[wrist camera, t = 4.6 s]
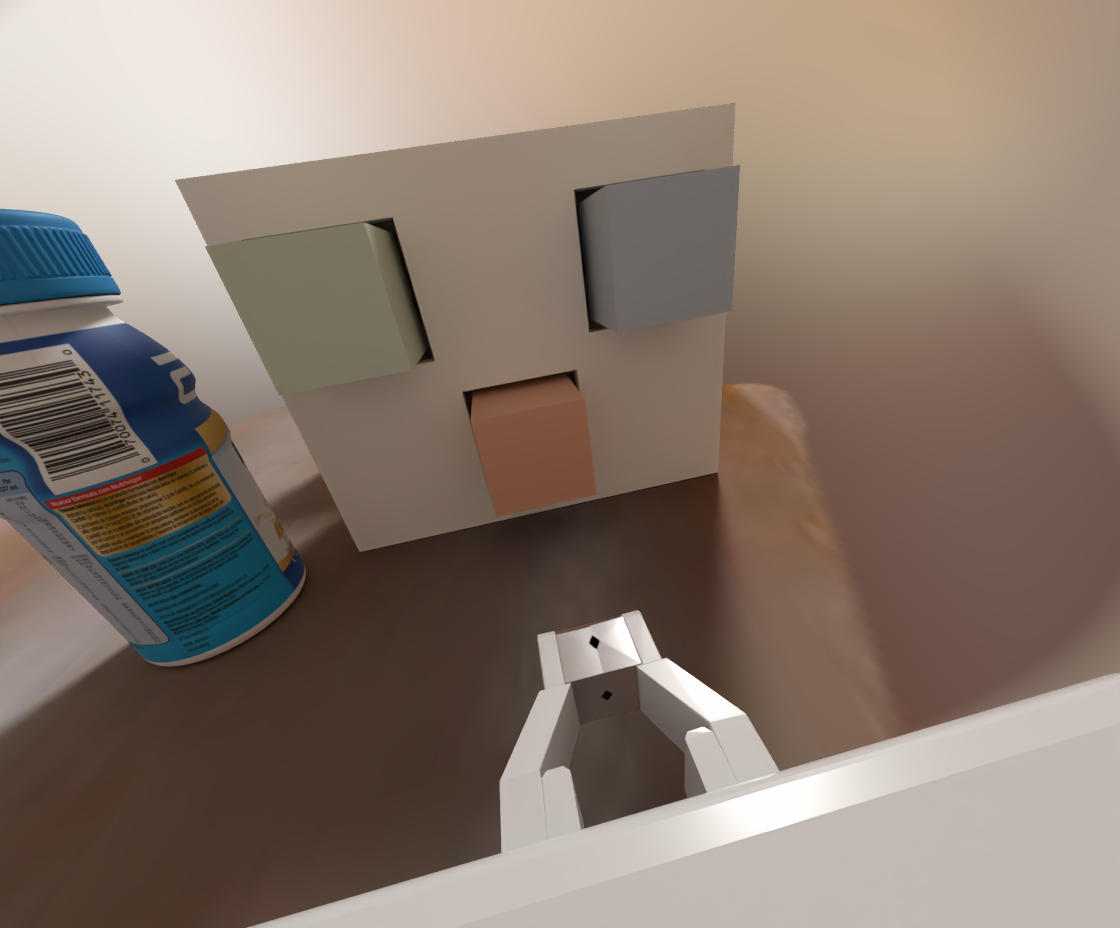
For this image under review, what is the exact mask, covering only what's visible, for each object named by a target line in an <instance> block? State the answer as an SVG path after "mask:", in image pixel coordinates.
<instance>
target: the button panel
mask: <svg viewBox="0 0 1120 928" xmlns="http://www.w3.org/2000/svg"><path fill="white" fill-rule="evenodd" d="M734 122H735V103H731V104H724V105H717V106H709V107H702V108H694V109H687V110H680V111H673V112H666V113H659V114H652V115H644V116H636V117H629V118H622V119H615V120H608V121H601V122H593V123H586V124H578V125H571V126H564V127H558V128H550V129H542V130H535V131H527V132H520V133H513V134H506V135H498V136H491V137H484V138H477V139H470V140H462V141H455V142H448V143H440V144H433V145H426V146H419V147H412V148H404V149H398V150H389V151H382V152H375V153H368V154H360V155H353V156H346V157H339V158H331V159H324V160H317V161H310V162H303V163H295V164H288V165H280V166H274V167H266V168H259V169H252V170H244V171H237V172H230V173H223V174H215V175H209V176H201V177H193V178H186V179H179V180H175V181H176V183H177V185H178V187H179V189H180V191H181V193H182V195H183V197H184V199H185V201H186V203H187V205H188V207H189V209H190V211H191V213H192V215H193V218H194V220H195V221H196V224H197V225H198V227H199V230H200V232H201V233H202V236H203V238H204V240H205V241H206V244H207V245H208V246H211V245H218V244H225V243H231V242H238V241H244V240H251V239H257V238H264V237H271V236H277V235H284V234H290V233H297V232H303V231H310V230H316V229H323V228H330V227H336V226H343V225H349V224H356V223H362V222H364V223H367V224H370V225H372V226H375V227H378V228H380V229H383V230H386V231H388V232H391V233H394V236H395V239H396V242H397V246H398V249H399V252H400V256H401V259H402V263H403V266H404V269H405V273H406V276H407V279H408V283H409V286H410V289H411V293H412V296H413V299H414V303H415V306H416V310H417V313H418V316H419V320H420V323H421V326H422V330H423V333H424V336H425V340H426V343H427V346H428V348H427V350H426V351H425V353H424V354H423V355H422V357H421V358H420V360H419V361H418V363H417V364H416V366H415V367H414V369H413V370H412V371H408V372H402V373H397V374H392V375H386V376H381V377H375V378H370V379H365V380H359V381H354V382H349V383H343V384H338V385H333V386H327V387H322V388H316V389H311V390H306V391H300V392H295V393H290V394H284V395H282V397H283V399H284V401H285V403H286V405H287V407H288V409H289V411H290V413H291V415H292V417H293V419H294V421H295V423H296V425H297V427H298V429H299V431H300V433H301V435H302V437H303V439H304V441H305V443H306V445H307V447H308V449H309V451H310V453H311V455H312V457H313V459H314V461H315V463H316V465H317V467H318V469H319V471H320V473H321V475H322V478H323V480H324V482H325V484H326V486H327V488H328V490H329V492H330V494H331V496H332V498H333V500H334V502H335V504H336V506H337V508H338V510H339V512H340V514H341V516H342V518H343V520H344V522H345V524H346V526H347V528H348V530H349V532H350V534H351V536H352V538H353V540H354V542H355V544H356V546H357V548H358V550H359V552H362V551H367V550H371V549H376V548H380V547H385V546H389V545H394V544H398V543H403V542H407V541H412V540H416V539H421V538H425V537H430V536H434V535H439V534H443V533H448V532H452V531H457V530H461V529H466V528H470V527H475V526H479V525H483V524H488V523H492V522H497V521H501V520H506V519H510V518H515V517H519V516H524V515H528V514H533V513H537V512H542V511H546V510H551V509H555V508H560V507H564V506H569V505H573V504H578V503H582V502H587V501H591V500H596V499H600V498H605V497H609V496H614V495H618V494H622V493H627V492H631V491H636V490H640V489H645V488H649V487H654V486H658V485H663V484H667V483H672V482H676V481H681V480H685V479H690V478H694V477H699V476H703V475H708V474H712V473H717V472H718V458H719V437H720V416H721V395H722V374H723V352H724V332H725V313H719V314H714V315H709V316H703V317H698V318H692V319H687V320H682V321H676V322H671V323H666V324H660V325H655V326H649V327H644V328H639V329H633V330H628V331H623V332H615V331H613V330H611V329H609V328H607V327H605V326H603V325H601V324H599V323H597V322H595V321H593V320H591V319H589V318H588V309H587V300H586V290H585V281H584V271H583V262H582V253H581V243H580V234H579V225H578V215H577V206H576V205H577V204H579V203H580V202H582V201H583V200H585V199H586V198H588V197H589V196H591V195H592V194H594V193H595V192H597V191H598V190H600V189H602V188H603V187H605V186H606V185H612V184H618V183H625V182H632V181H638V180H645V179H651V178H658V177H664V176H671V175H677V174H684V173H691V172H697V171H704V170H710V169H717V168H723V167H730V166H732V164H733V163H732V162H733V142H734ZM562 372H565V373H566V375H567V376H568V377H569V379H570V380H571V381H572V383H573V384H574V385H575V386H576V388H577V389H578V390H579V392H580V393H581V394H582V395H583V397H584V398H585V403H586V412H587V420H588V428H589V436H590V445H591V453H592V461H593V469H594V477H595V486H596V494H597V495H594V496H589V497H585V498H580V499H576V500H571V501H567V502H562V503H558V504H553V505H549V506H544V507H540V508H535V509H531V510H526V511H522V512H517V513H513V514H508V515H504V516H499V517H496V513H495V510H494V506H493V502H492V499H491V495H490V491H489V488H488V484H487V480H486V477H485V473H484V469H483V466H482V462H481V458H480V455H479V451H478V447H477V443H476V440H475V436H474V432H473V429H472V425H471V409H472V397H473V390H474V389H479V388H485V387H490V386H495V385H500V384H505V383H511V382H516V381H521V380H526V379H531V378H536V377H542V376H547V375H552V374H557V373H562Z"/></svg>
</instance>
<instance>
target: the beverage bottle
mask: <svg viewBox="0 0 1120 928" xmlns="http://www.w3.org/2000/svg"><path fill="white" fill-rule="evenodd" d="M111 276H112V275H111V274H110V272H109V271H108V269H107V267H106V266H105V264H104V262H103V261H102V259H101V258H100V256H99V254H98V253H97V251H96V249H95V248H94V246H93V245H92V243H91V241H90V240H89V238H88V236H87V235H85V234H83V233H82V231H81V229H80V228H79V227H78V225H77V224H76V223H75V222H73V221H72V220H70V219H68V218H65V217H62V216H58V215H53V214H48V213H41V212H34V211H24V210H10V209H0V517H1V518H3V519H5V520H7V521H8V522H9V523H10V524H11V525H12V526H13V527H14V528H15V529H16V530H17V531H18V532H19V533H20V534H21V535H22V536H23V537H24V538H25V539H26V540H27V541H28V542H29V543H30V544H31V545H32V546H33V547H34V548H35V549H36V550H37V551H38V552H39V553H40V554H41V555H42V556H43V557H44V558H45V559H46V560H47V561H48V562H49V563H50V564H51V565H52V566H53V567H54V568H55V569H56V570H57V571H58V572H59V573H60V574H61V575H62V576H63V577H64V578H65V579H66V580H67V581H68V582H69V583H70V584H71V585H72V586H73V587H74V588H75V589H76V590H77V591H78V592H79V593H80V594H81V595H82V596H83V597H84V598H85V599H87V600H88V601H89V602H90V603H91V604H92V605H93V606H94V607H95V608H96V609H97V610H98V611H99V612H100V613H101V614H102V615H103V616H104V617H105V618H106V619H107V620H108V621H109V622H110V623H111V624H112V625H113V626H114V628H115V629H116V630H117V631H118V632H119V633H120V634H121V635H122V636H123V637H124V638H125V639H126V640H128V642H129V643H130V645H131V646H132V647H133V648H134V649H135V650H136V652H137V653H138V654H139V655H140V656H141V657H142V658H143V659H145V660H146V661H148V662H150V663H152V664H155V665H160V666H181V665H187V664H191V663H195V662H199V661H202V660H205V659H208V658H211V657H213V656H216V655H218V654H221V653H223V652H225V651H227V650H229V649H231V648H233V647H235V646H237V645H239V644H241V643H242V642H244V641H246V640H248V639H249V638H251V637H252V636H254V635H255V634H257V633H258V632H260V631H261V630H263V629H264V628H265V627H267V626H268V625H269V624H270V623H272V622H273V621H274V620H275V619H276V618H278V617H279V616H280V615H281V614H282V613H283V612H284V611H285V610H286V609H287V608H288V607H289V606H290V605H291V603H292V602H293V601H294V600H295V598H296V597H297V596H298V594H299V592H300V591H301V589H302V587H303V584H304V582H305V578H306V567H305V564H304V562H303V560H302V559H301V557H300V555H299V554H298V552H297V551H296V549H295V548H294V547H293V545H292V543H291V542H290V540H289V538H288V537H287V535H286V533H285V532H284V530H283V528H282V526H281V525H280V523H279V521H278V520H277V518H276V516H275V514H274V513H273V511H272V509H271V507H270V506H269V504H268V502H267V501H266V499H265V497H264V495H263V494H262V492H261V490H260V488H259V487H258V485H257V483H256V482H255V480H254V478H253V476H252V475H251V473H250V471H249V469H248V468H247V466H246V464H245V462H244V461H243V459H242V457H241V456H240V454H239V452H238V450H237V449H236V447H235V445H234V443H233V442H232V440H231V434H230V431H229V429H228V427H227V425H226V423H225V422H224V420H223V419H222V418H221V416H220V415H219V414H218V413H217V412H216V411H214V410H212V409H211V408H210V407H209V406H207V405H205V404H204V403H202V402H201V401H200V400H199V398H198V397H197V395H196V393H195V382H196V380H195V377H194V375H193V373H192V372H191V371H190V370H189V368H188V367H187V366H186V365H185V364H184V363H183V362H182V361H181V360H179V359H178V358H177V357H176V356H175V355H174V354H173V353H171V352H170V351H169V350H168V349H166V348H165V347H163V346H162V345H161V344H159V343H158V342H156V341H155V340H153V339H152V338H150V337H149V336H147V335H145V334H144V333H142V332H140V331H139V330H137V329H136V328H134V327H132V326H130V325H129V324H126V323H125V322H123V321H121V320H120V319H118V318H117V317H116V316H115V315H114V314H113V313H112V312H111V311H110V310H109V309H108V308H107V307H106V306H109V305H115V304H119V303H122V302H123V300H122V298H121V297H120V296H119V295H120V293H121V292H120V290H119V288H118V286H117V284H116V283H115V281H114V279H113V278H111Z"/></svg>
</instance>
